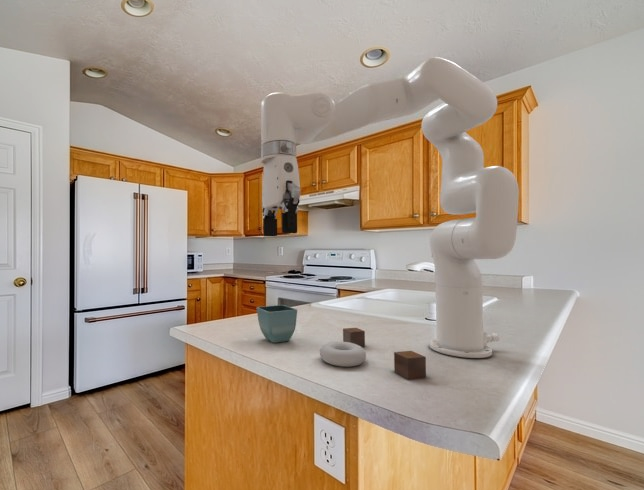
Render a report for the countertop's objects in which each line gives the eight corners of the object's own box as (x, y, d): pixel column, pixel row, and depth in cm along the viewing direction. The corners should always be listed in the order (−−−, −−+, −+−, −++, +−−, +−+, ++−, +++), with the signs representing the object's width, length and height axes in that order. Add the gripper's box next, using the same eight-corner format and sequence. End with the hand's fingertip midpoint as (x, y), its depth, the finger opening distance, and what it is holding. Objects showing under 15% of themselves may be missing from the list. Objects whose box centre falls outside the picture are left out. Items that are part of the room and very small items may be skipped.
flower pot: (269, 346, 83) (268, 311, 83) (256, 338, 91) (255, 306, 91) (298, 342, 86) (298, 309, 86) (283, 334, 94) (283, 304, 94)
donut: (319, 368, 67) (370, 370, 65) (319, 351, 67) (369, 353, 65) (319, 353, 77) (362, 354, 75) (318, 339, 77) (362, 340, 75)
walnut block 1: (356, 342, 85) (356, 327, 85) (365, 346, 81) (364, 331, 81) (343, 343, 84) (342, 328, 84) (350, 347, 80) (350, 332, 80)
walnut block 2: (411, 370, 65) (411, 350, 65) (426, 377, 61) (425, 356, 61) (394, 372, 64) (393, 352, 64) (408, 379, 60) (407, 358, 60)
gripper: (314, 143, 61) (315, 232, 61) (278, 167, 78) (278, 237, 78) (279, 139, 59) (280, 231, 59) (249, 164, 75) (249, 236, 75)
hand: (279, 234), depth 68 cm, fingers open, 9 cm apart
